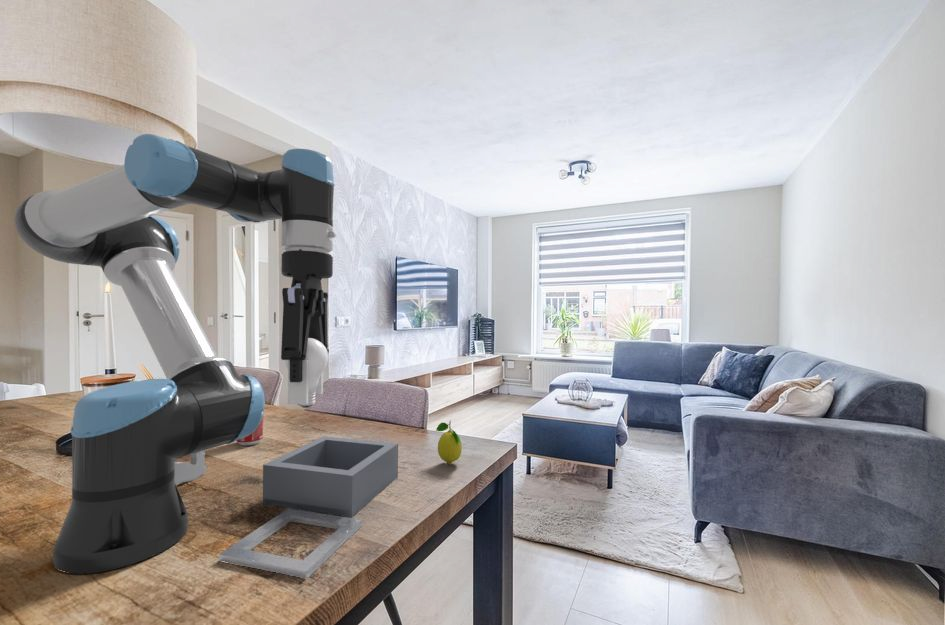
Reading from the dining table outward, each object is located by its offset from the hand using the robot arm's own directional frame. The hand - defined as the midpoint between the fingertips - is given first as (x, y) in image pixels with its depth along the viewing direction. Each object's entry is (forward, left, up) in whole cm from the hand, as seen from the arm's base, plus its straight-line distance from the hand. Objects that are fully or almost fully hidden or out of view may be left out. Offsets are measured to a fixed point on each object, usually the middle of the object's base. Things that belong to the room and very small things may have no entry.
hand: (306, 398), depth 65 cm
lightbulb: (0, 0, -2) cm, 2 cm away
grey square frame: (+1, -3, -21) cm, 21 cm away
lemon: (+13, +34, -21) cm, 42 cm away
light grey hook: (-35, +10, -21) cm, 42 cm away
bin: (-4, +15, -21) cm, 26 cm away
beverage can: (-42, +34, -21) cm, 58 cm away
